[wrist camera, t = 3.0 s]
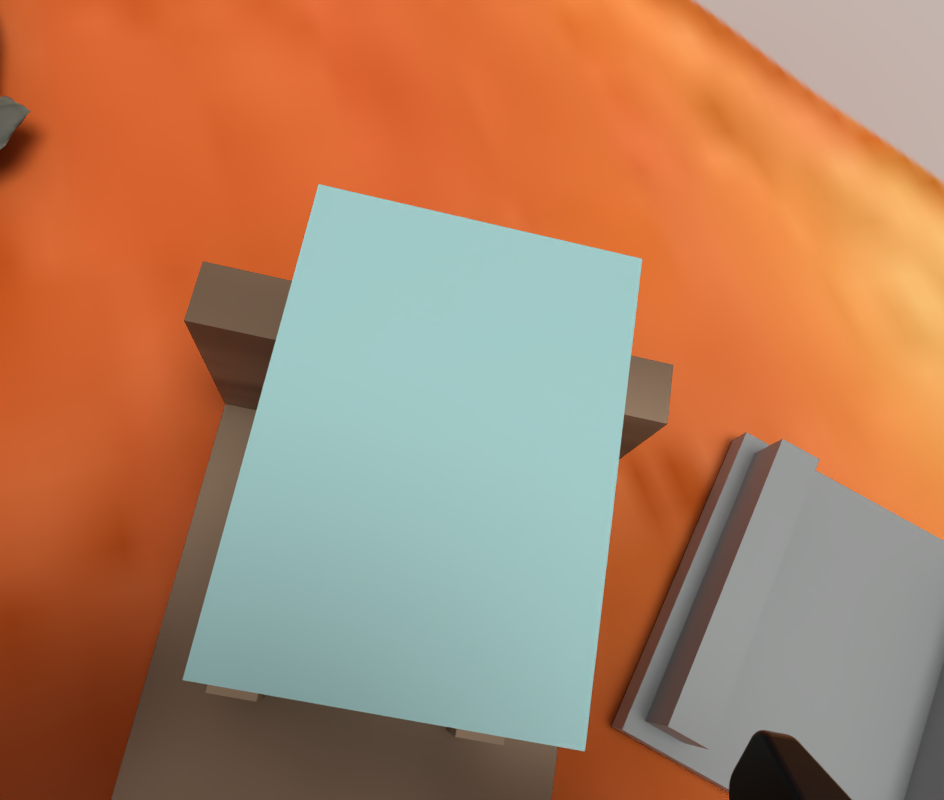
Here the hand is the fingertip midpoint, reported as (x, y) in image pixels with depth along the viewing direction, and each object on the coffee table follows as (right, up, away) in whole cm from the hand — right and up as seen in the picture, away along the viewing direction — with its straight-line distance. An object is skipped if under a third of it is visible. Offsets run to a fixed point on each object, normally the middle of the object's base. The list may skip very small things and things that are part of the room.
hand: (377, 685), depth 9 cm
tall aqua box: (-1, -1, +9) cm, 9 cm away
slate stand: (+10, -3, +11) cm, 15 cm away
